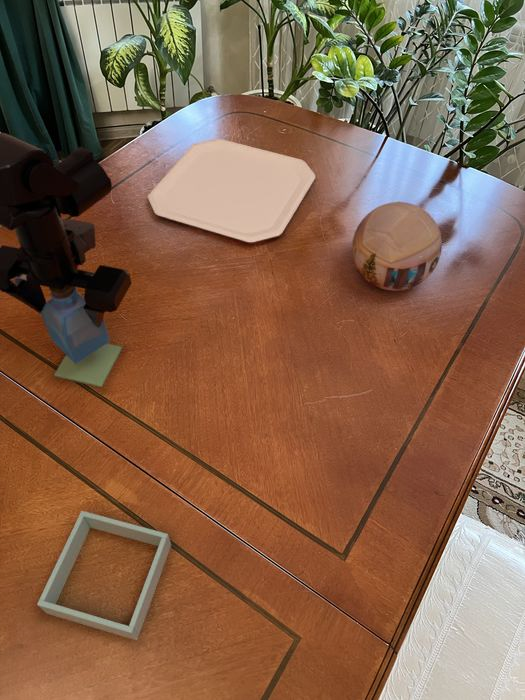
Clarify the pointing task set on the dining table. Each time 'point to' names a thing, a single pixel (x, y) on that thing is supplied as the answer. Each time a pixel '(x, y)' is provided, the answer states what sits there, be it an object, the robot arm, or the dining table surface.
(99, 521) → the square frame
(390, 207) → the ornament
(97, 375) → the mat
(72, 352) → the perfume bottle
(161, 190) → the plate
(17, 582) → the dining table surface
